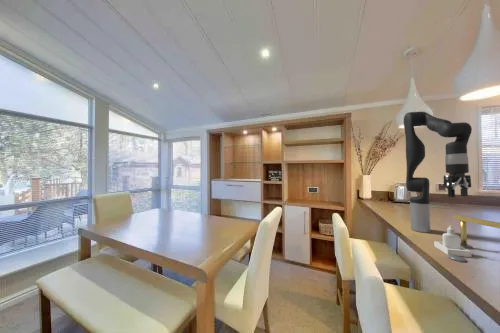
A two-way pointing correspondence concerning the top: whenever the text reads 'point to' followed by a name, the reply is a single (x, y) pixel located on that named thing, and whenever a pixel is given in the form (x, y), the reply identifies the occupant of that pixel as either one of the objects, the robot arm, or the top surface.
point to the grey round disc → (457, 258)
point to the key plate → (466, 246)
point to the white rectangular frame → (452, 250)
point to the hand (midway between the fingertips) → (458, 196)
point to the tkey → (472, 220)
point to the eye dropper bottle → (451, 239)
